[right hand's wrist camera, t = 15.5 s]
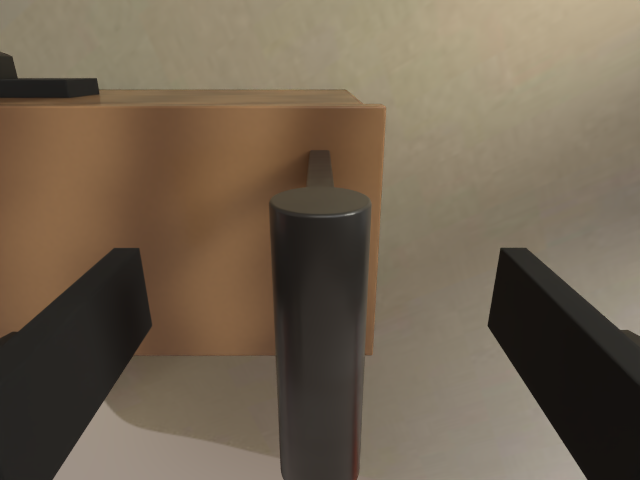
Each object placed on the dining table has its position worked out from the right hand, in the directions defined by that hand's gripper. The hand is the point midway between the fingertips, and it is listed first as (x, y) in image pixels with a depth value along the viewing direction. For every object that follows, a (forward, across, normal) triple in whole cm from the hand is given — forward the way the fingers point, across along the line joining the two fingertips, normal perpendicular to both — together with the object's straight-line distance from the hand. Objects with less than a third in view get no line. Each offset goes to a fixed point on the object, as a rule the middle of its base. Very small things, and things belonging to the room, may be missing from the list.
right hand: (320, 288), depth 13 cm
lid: (+4, -6, 0) cm, 7 cm away
